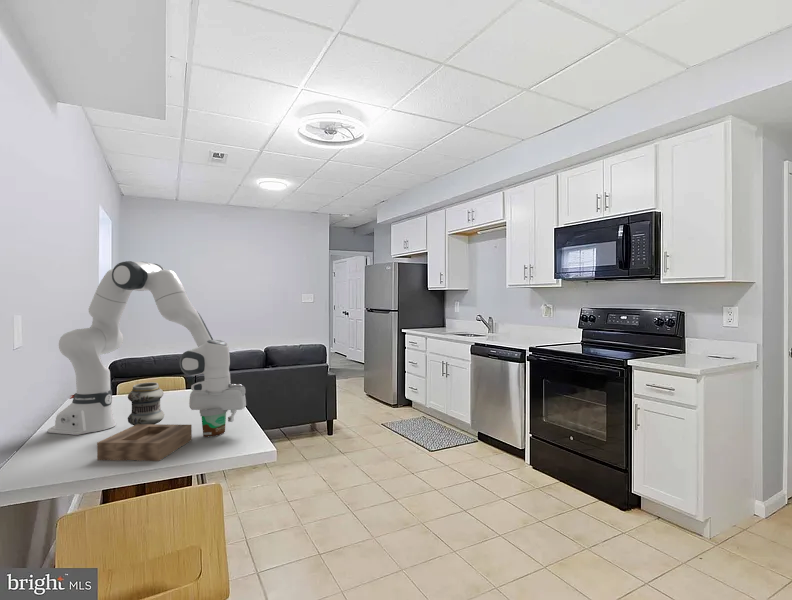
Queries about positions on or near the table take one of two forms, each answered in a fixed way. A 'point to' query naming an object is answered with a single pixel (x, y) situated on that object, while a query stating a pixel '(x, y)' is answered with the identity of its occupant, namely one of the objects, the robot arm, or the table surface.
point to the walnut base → (144, 442)
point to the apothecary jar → (145, 404)
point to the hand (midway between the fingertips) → (218, 421)
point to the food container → (213, 422)
